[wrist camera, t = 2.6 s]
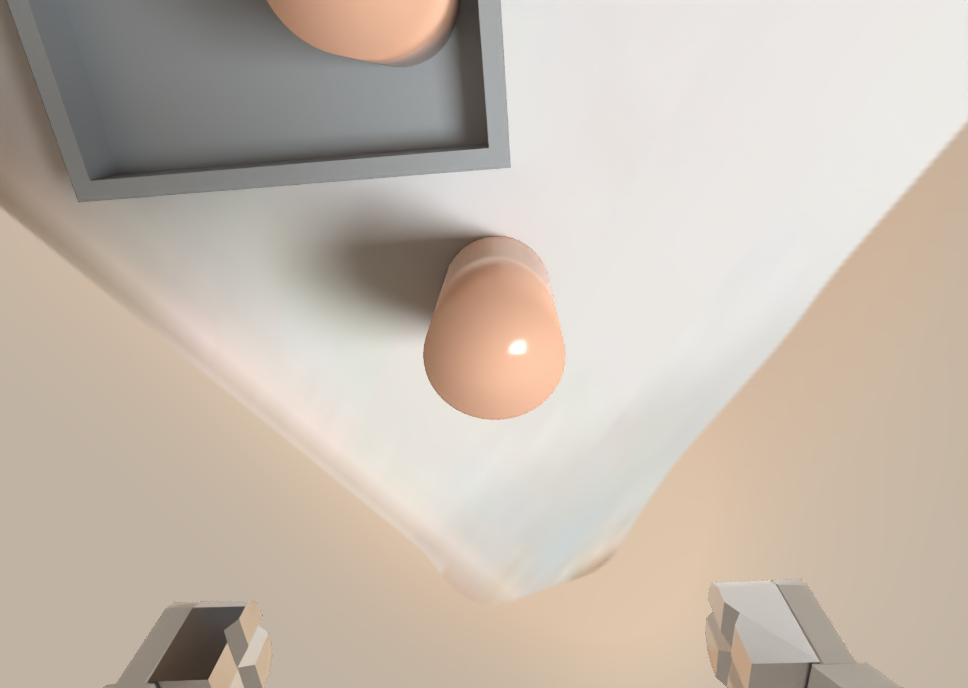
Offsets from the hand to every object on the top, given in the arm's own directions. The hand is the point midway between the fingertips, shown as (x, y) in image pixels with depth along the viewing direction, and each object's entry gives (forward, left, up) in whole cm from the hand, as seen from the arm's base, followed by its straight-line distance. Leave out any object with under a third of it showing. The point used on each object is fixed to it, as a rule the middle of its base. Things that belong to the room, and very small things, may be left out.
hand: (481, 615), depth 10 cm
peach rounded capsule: (0, 0, -19) cm, 19 cm away
